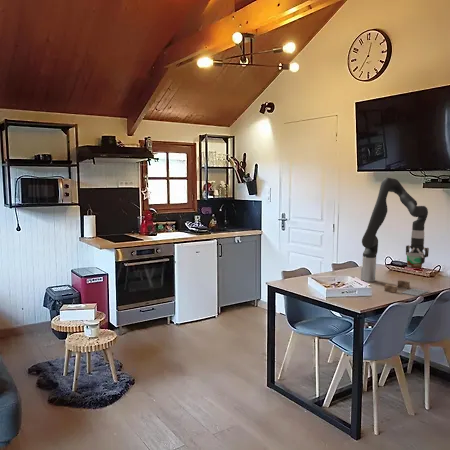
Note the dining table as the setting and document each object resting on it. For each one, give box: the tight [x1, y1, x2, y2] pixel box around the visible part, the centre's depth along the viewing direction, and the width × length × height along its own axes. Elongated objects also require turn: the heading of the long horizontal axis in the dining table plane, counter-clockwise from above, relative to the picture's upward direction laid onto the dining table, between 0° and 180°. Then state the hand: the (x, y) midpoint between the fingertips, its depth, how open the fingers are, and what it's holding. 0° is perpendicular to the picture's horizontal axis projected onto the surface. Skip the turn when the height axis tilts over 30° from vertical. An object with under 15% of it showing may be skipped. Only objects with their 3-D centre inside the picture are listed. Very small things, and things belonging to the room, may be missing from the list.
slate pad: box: [401, 287, 429, 297], centre depth 294 cm, size 10×16×1 cm, turn 133°
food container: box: [405, 251, 423, 269], centre depth 292 cm, size 12×6×10 cm, turn 106°
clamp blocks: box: [384, 279, 411, 294], centre depth 303 cm, size 7×21×4 cm, turn 133°
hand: (416, 262), depth 292 cm, fingers closed on food container, 7 cm apart
